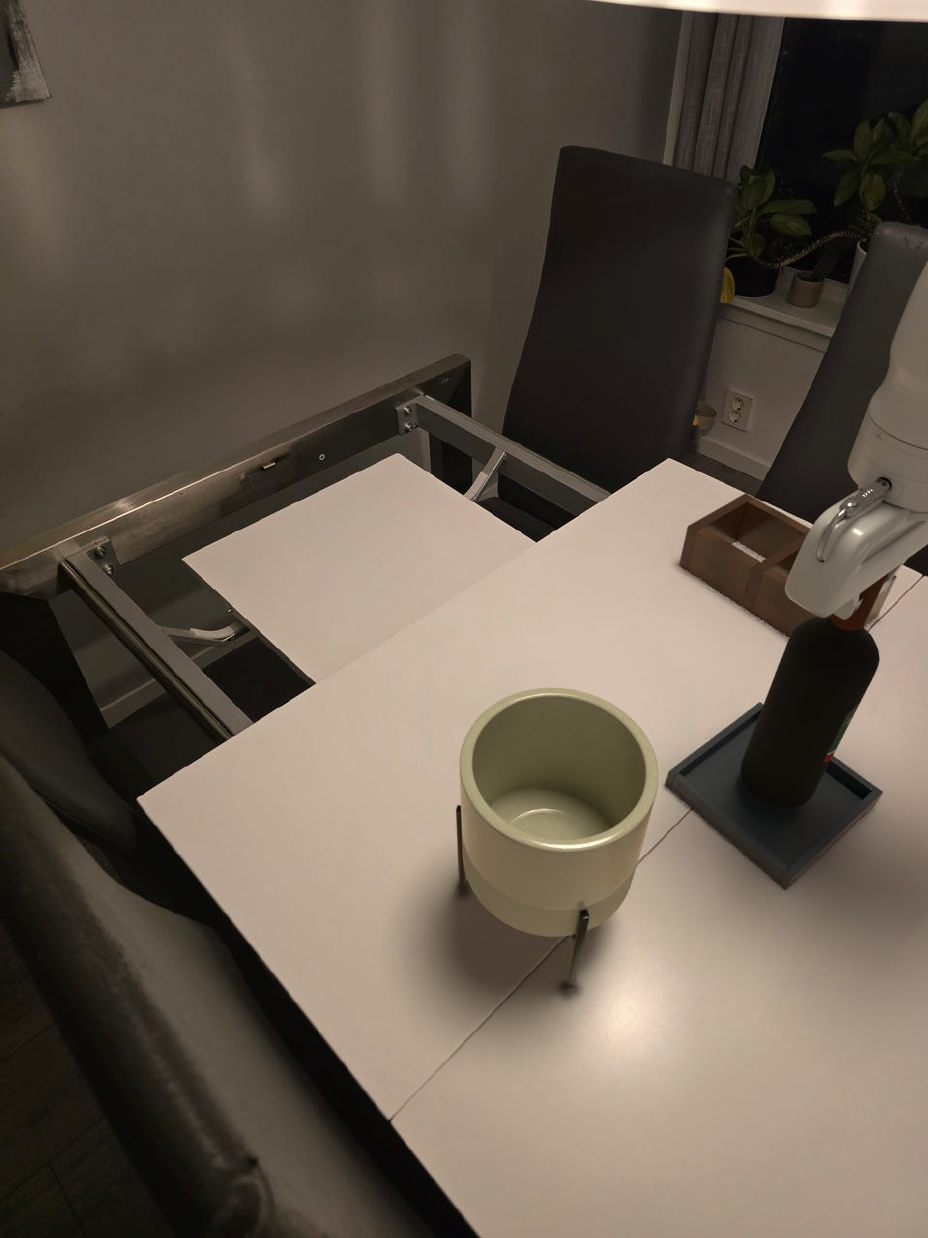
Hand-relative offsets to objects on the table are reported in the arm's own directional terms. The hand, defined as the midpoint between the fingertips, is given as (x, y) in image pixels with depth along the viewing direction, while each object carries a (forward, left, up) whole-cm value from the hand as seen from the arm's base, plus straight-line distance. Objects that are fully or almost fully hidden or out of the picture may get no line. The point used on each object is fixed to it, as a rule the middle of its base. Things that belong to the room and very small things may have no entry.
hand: (856, 601), depth 65 cm
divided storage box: (+20, -28, -28) cm, 45 cm away
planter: (+6, +27, -29) cm, 40 cm away
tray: (0, 0, -28) cm, 28 cm away
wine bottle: (0, 0, -25) cm, 25 cm away
